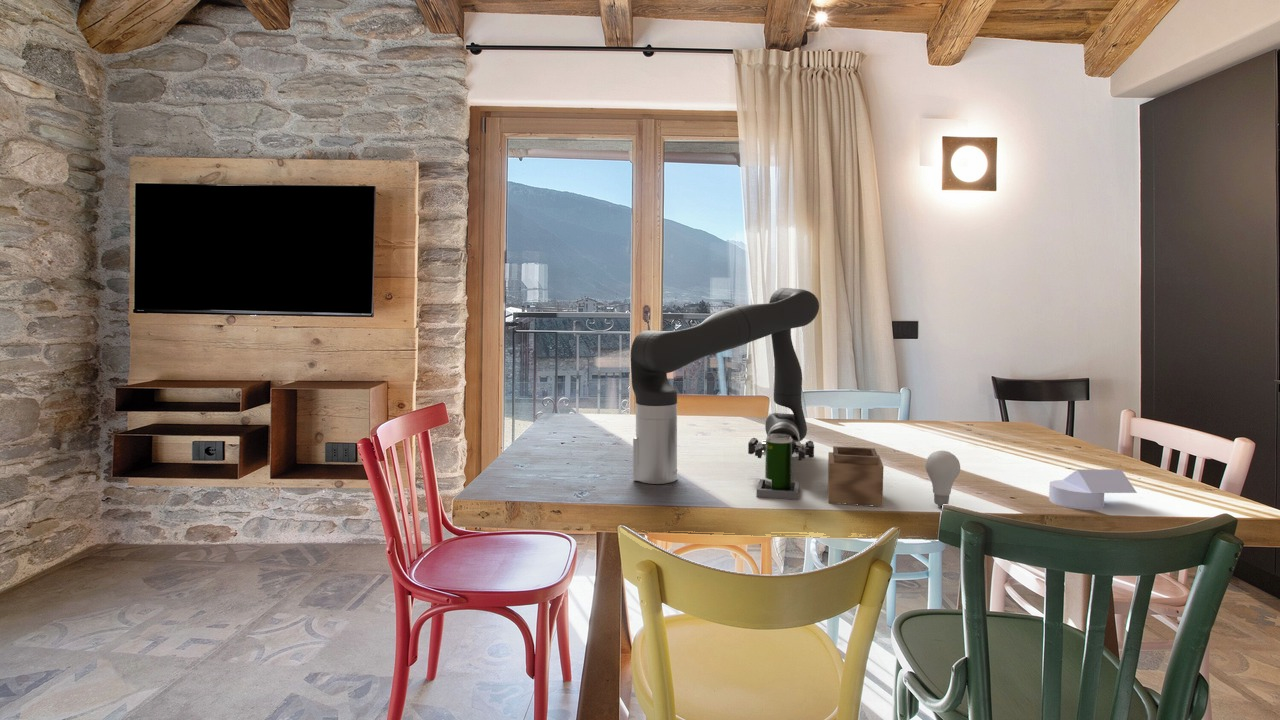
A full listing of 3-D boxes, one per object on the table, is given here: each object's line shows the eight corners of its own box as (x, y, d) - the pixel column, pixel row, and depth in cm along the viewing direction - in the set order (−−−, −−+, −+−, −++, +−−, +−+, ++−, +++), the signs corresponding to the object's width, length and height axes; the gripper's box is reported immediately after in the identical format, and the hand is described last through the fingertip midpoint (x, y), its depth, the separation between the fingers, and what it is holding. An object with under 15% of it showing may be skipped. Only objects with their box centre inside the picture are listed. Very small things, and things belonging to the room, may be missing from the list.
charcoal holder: (756, 496, 135) (756, 489, 135) (759, 485, 143) (759, 479, 143) (797, 499, 133) (798, 492, 133) (798, 488, 141) (799, 481, 141)
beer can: (778, 497, 134) (779, 439, 133) (759, 491, 139) (760, 435, 138) (796, 493, 137) (797, 436, 136) (778, 487, 142) (778, 432, 141)
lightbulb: (956, 503, 130) (958, 448, 129) (960, 513, 124) (962, 455, 124) (922, 500, 132) (924, 446, 131) (925, 510, 126) (927, 453, 125)
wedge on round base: (1103, 496, 135) (1039, 496, 135) (1105, 463, 135) (1040, 463, 135) (1136, 510, 126) (1067, 510, 126) (1138, 475, 126) (1069, 475, 126)
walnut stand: (828, 503, 131) (829, 455, 130) (827, 489, 140) (828, 445, 140) (882, 507, 128) (883, 458, 127) (877, 492, 138) (879, 447, 137)
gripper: (752, 422, 159) (746, 435, 143) (814, 425, 155) (814, 439, 140) (752, 453, 159) (745, 470, 144) (813, 456, 156) (813, 474, 140)
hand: (779, 454), depth 142 cm, fingers open, 8 cm apart
